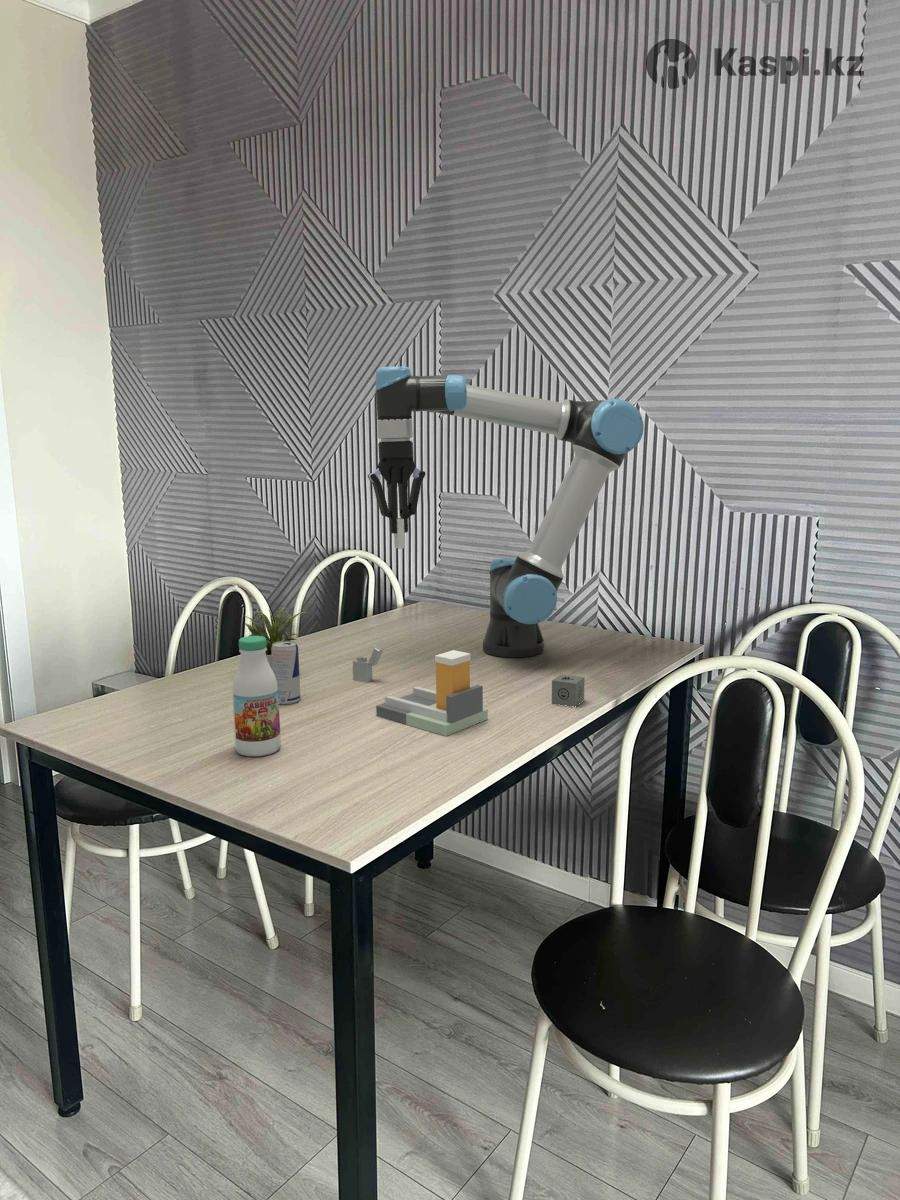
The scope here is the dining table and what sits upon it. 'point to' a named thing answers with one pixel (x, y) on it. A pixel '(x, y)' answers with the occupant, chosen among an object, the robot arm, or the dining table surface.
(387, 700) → the grey rail tray
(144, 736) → the dining table surface
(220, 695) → the dining table surface
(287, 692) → the energy drink
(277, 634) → the house plant
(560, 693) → the dice cube
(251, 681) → the milk bottle
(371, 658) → the lighter
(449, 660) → the block
